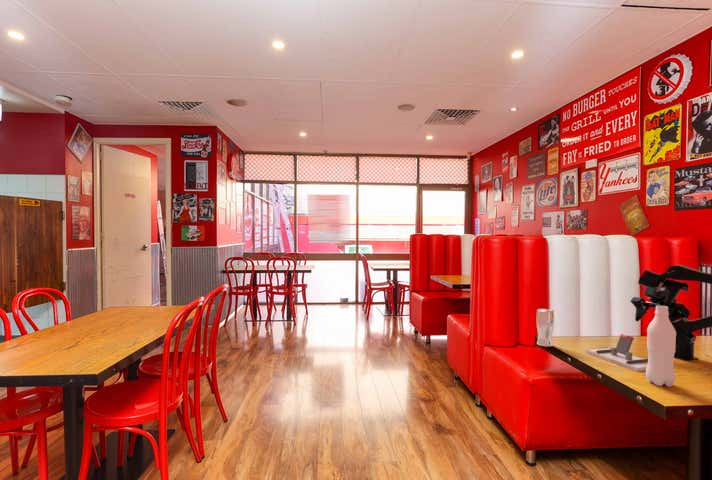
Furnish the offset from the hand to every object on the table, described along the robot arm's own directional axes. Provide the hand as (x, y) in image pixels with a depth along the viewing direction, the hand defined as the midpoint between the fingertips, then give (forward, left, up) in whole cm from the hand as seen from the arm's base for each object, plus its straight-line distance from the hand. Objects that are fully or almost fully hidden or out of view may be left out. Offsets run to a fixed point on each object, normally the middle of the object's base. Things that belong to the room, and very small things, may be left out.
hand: (648, 323), depth 140 cm
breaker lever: (+14, 0, -10) cm, 17 cm away
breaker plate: (+14, 0, -14) cm, 19 cm away
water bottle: (+23, +20, -14) cm, 34 cm away
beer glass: (+28, -23, -14) cm, 38 cm away
